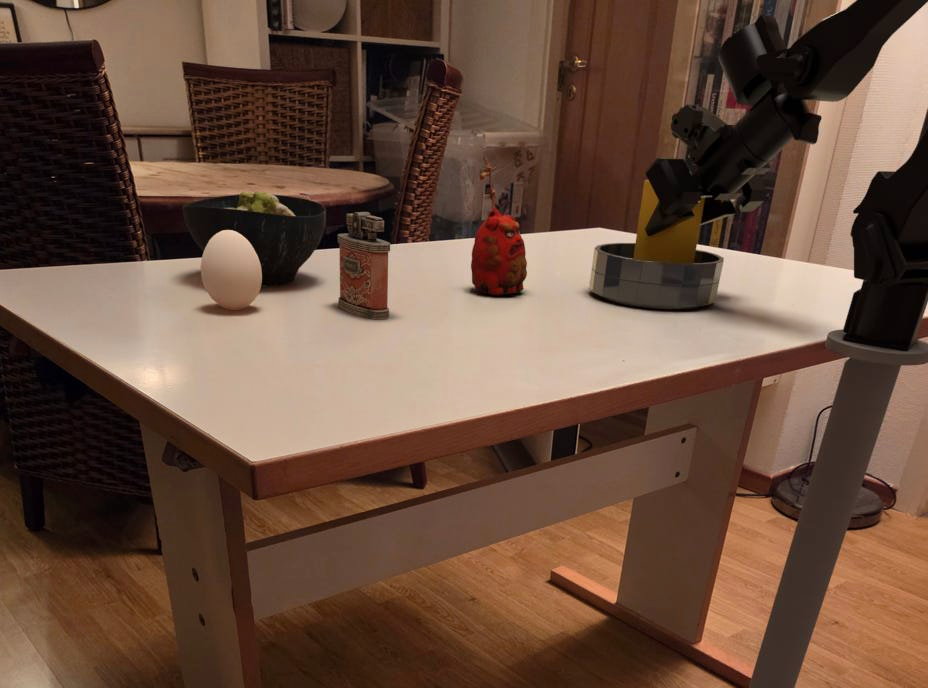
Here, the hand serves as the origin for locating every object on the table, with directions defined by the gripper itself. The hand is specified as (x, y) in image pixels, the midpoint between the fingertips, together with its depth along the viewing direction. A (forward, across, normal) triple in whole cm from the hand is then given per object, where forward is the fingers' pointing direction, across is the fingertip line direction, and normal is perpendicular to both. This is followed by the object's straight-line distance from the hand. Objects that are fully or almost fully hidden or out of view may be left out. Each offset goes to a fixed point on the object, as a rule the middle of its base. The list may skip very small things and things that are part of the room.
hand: (659, 232), depth 111 cm
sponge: (+4, 0, +6) cm, 7 cm away
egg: (+16, +53, -6) cm, 56 cm away
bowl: (+26, +42, -15) cm, 52 cm away
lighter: (+11, +41, 0) cm, 43 cm away
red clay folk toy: (+13, +19, -2) cm, 23 cm away
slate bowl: (+4, +2, +7) cm, 8 cm away
